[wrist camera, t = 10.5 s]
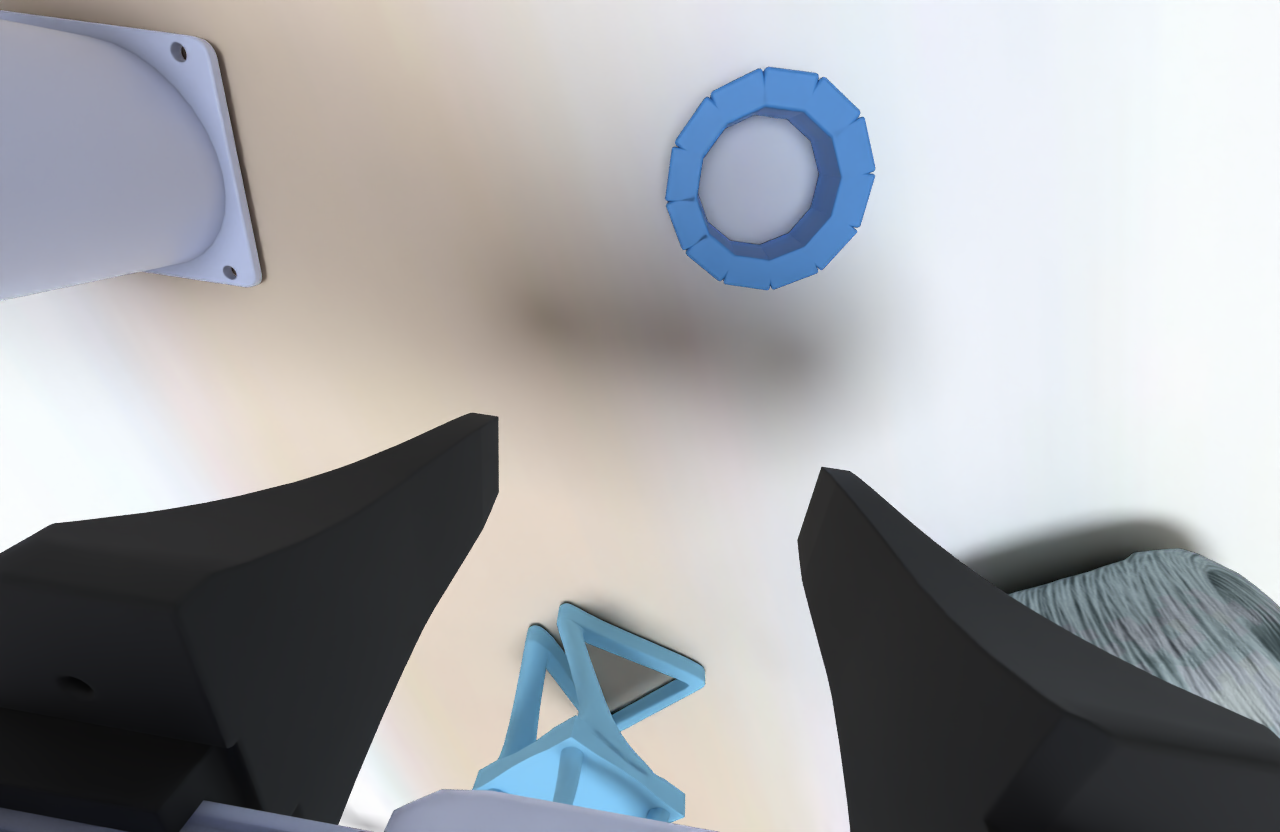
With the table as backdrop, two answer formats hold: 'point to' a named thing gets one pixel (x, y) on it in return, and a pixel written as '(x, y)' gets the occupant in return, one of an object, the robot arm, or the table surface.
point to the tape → (836, 193)
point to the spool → (1177, 625)
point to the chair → (588, 724)
